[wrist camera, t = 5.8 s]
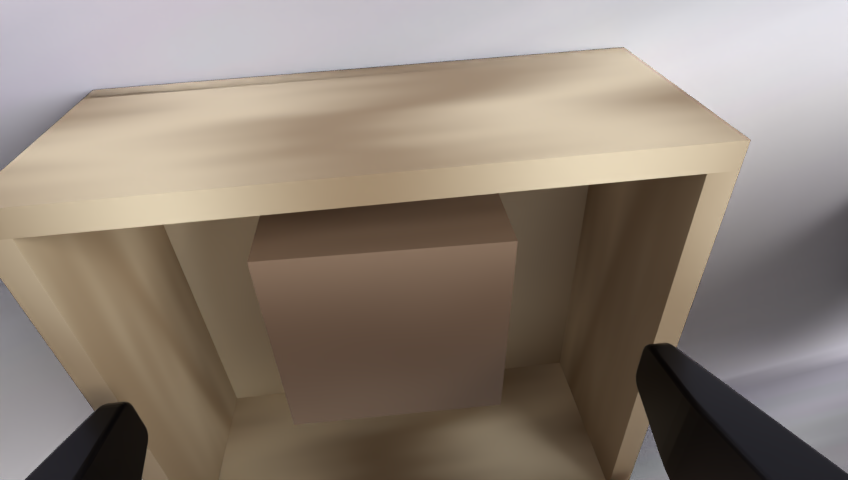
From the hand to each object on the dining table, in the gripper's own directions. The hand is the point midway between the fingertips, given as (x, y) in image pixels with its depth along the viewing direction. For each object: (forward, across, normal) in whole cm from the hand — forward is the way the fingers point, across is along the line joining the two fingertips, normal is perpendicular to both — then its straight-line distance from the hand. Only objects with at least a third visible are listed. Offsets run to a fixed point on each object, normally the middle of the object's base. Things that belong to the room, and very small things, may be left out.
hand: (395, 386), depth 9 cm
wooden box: (+5, 0, +1) cm, 5 cm away
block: (+4, 0, 0) cm, 4 cm away
